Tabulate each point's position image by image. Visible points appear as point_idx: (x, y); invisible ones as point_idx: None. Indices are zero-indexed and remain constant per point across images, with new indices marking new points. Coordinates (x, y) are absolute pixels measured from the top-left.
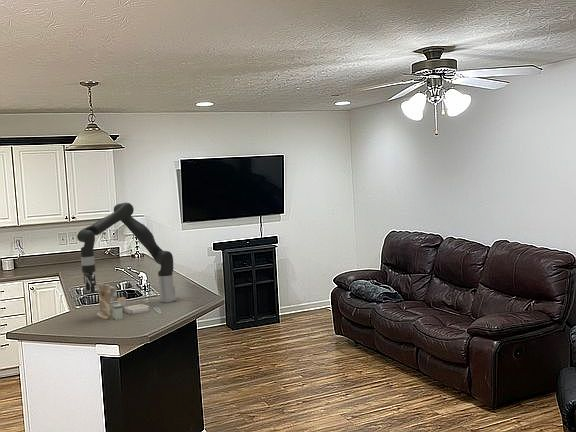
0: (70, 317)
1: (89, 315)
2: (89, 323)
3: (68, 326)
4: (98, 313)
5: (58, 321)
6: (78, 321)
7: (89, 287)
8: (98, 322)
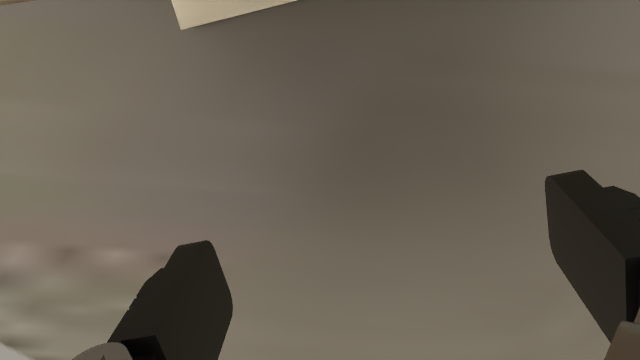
0: (120, 264)
1: (123, 99)
2: (539, 134)
3: (509, 305)
4: (225, 11)
5: (235, 354)
6: (356, 218)
7: (189, 287)
8: (571, 42)
